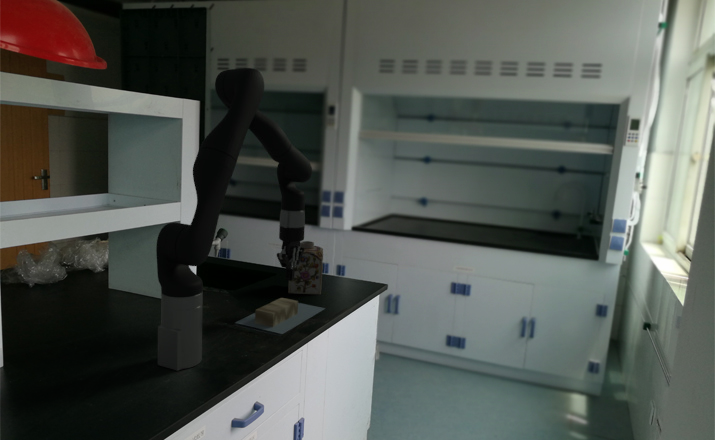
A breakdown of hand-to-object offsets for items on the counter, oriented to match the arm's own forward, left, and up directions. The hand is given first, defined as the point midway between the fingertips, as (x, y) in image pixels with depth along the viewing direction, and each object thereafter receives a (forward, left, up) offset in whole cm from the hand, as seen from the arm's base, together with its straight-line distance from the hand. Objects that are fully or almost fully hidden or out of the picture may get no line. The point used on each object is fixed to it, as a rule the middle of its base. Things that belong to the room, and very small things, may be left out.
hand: (289, 279), depth 159 cm
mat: (-3, 0, -11) cm, 12 cm away
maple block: (0, 0, -8) cm, 8 cm away
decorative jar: (+25, +8, -11) cm, 28 cm away
